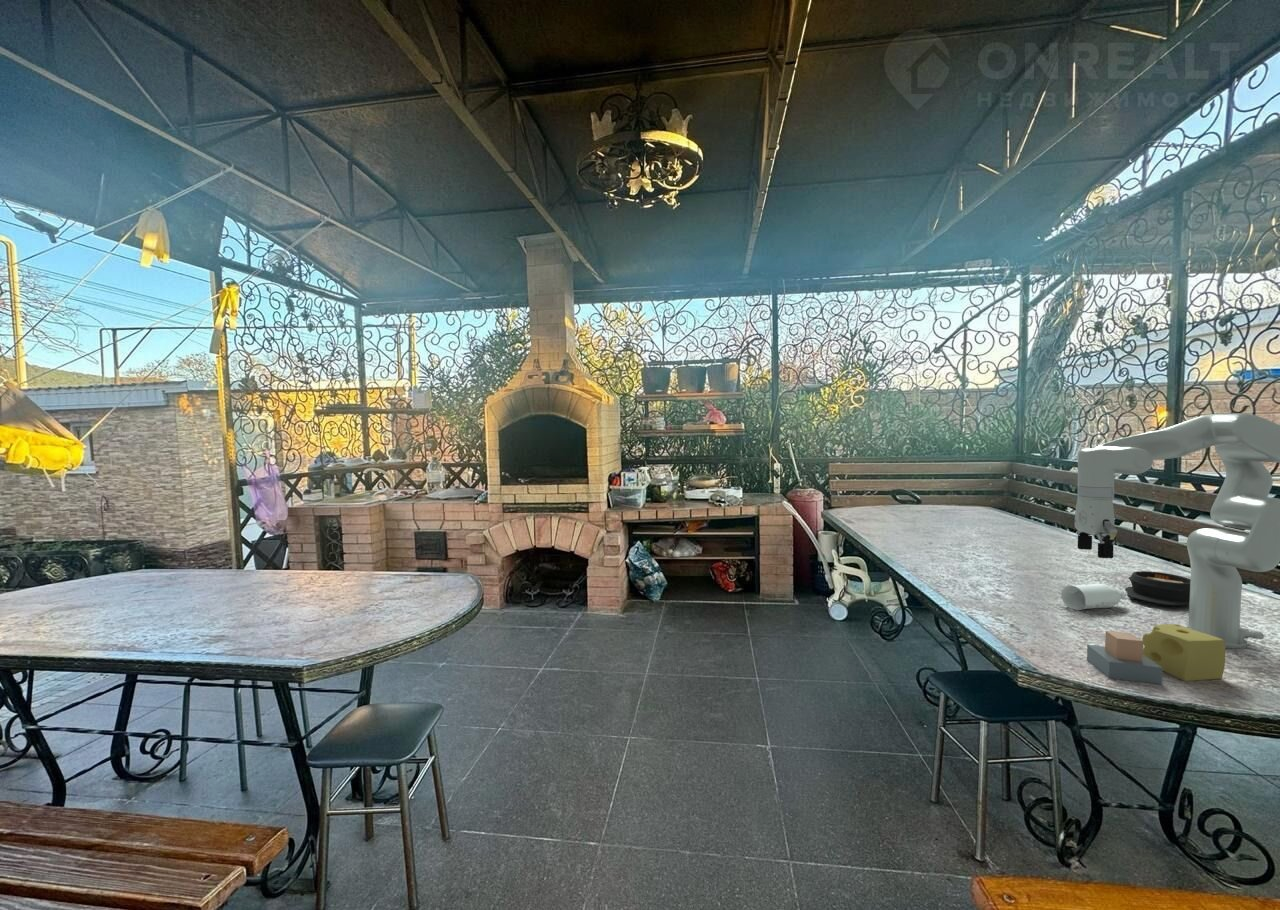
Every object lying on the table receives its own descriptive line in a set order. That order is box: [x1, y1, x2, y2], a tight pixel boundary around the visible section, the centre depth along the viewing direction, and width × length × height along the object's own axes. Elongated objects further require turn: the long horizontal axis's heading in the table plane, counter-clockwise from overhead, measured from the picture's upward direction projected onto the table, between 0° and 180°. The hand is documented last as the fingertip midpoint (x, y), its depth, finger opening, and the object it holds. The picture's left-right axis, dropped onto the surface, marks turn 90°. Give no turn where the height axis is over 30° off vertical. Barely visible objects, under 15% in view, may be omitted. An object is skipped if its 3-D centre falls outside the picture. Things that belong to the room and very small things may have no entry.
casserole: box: [1124, 570, 1191, 607], centre depth 173 cm, size 25×19×8 cm
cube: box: [1104, 630, 1144, 661], centre depth 123 cm, size 5×5×5 cm
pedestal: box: [1086, 644, 1163, 685], centre depth 123 cm, size 10×10×4 cm
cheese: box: [1141, 623, 1226, 682], centre depth 123 cm, size 10×11×10 cm
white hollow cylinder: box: [1060, 583, 1126, 611], centre depth 167 cm, size 8×19×8 cm, turn 98°
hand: (1094, 553), depth 139 cm, fingers open, 9 cm apart
